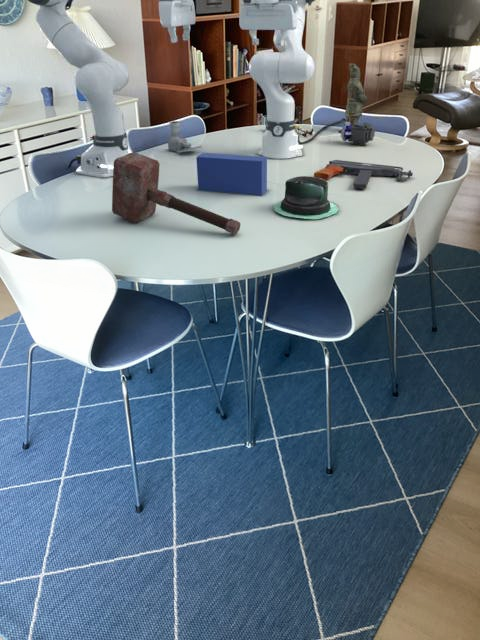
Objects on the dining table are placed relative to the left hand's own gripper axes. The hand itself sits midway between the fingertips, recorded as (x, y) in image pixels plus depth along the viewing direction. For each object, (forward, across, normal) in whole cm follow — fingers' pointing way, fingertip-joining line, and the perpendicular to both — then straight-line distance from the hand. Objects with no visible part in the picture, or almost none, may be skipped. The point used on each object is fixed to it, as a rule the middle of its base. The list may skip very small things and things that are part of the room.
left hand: (180, 41), depth 183 cm
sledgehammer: (+46, +46, +16) cm, 67 cm away
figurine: (+46, -82, +16) cm, 95 cm away
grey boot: (+45, -36, -19) cm, 61 cm away
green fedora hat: (+46, +22, +49) cm, 71 cm away
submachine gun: (+46, -14, +61) cm, 78 cm away
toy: (+46, -68, +51) cm, 96 cm away
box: (+46, +10, +20) cm, 51 cm away
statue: (+46, -94, +46) cm, 115 cm away
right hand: (+2, -10, +27) cm, 29 cm away
